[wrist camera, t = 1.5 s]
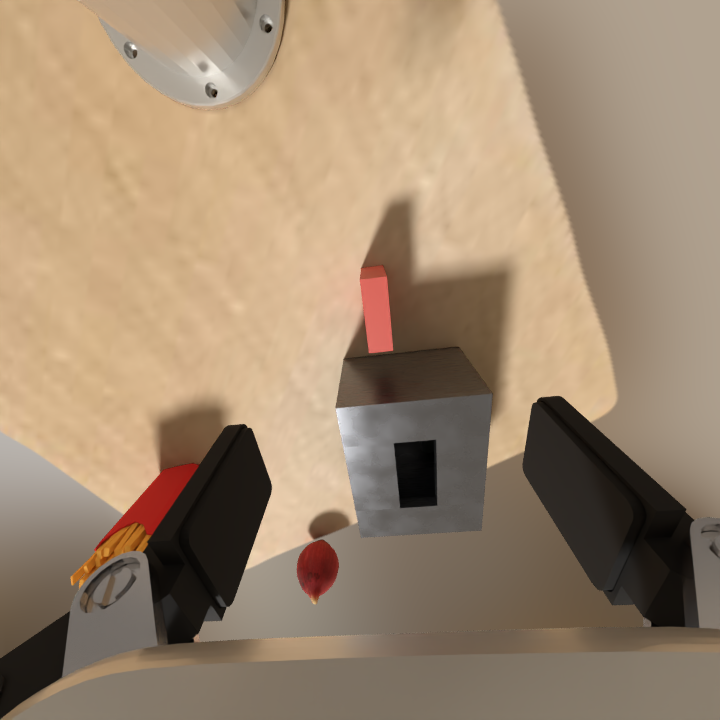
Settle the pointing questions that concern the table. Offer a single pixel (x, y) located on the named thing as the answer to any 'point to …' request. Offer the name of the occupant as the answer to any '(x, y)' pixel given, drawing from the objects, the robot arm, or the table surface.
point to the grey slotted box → (415, 441)
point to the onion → (317, 569)
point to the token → (376, 308)
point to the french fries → (139, 520)
